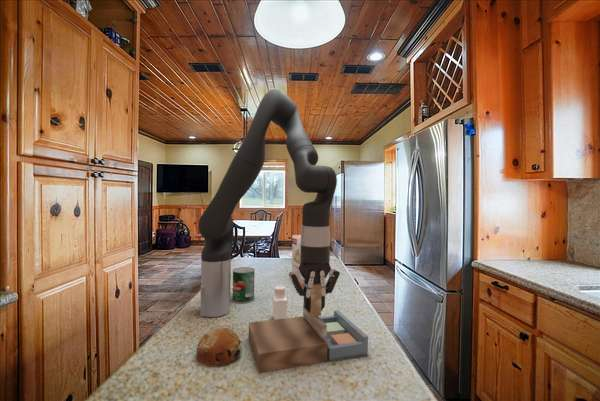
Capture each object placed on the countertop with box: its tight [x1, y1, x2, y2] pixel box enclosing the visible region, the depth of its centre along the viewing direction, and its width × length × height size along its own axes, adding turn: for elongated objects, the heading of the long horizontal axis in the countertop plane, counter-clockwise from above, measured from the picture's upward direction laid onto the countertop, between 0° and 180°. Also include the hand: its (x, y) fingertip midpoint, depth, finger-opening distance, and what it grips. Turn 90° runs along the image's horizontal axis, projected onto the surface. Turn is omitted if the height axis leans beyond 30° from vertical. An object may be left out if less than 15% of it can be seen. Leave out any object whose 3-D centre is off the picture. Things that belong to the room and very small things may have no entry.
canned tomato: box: [231, 266, 256, 304], centre depth 105 cm, size 8×8×11 cm
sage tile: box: [325, 322, 345, 338], centre depth 80 cm, size 5×5×2 cm
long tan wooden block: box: [302, 283, 327, 339], centre depth 74 cm, size 3×14×11 cm, turn 18°
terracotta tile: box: [331, 333, 357, 345], centre depth 73 cm, size 5×5×2 cm
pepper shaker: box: [272, 285, 288, 320], centre depth 90 cm, size 4×4×10 cm
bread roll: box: [196, 326, 242, 367], centre depth 69 cm, size 10×10×8 cm
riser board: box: [248, 315, 328, 373], centre depth 72 cm, size 16×16×4 cm
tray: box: [319, 309, 369, 362], centre depth 76 cm, size 10×17×4 cm, turn 18°
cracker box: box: [291, 234, 304, 289], centre depth 124 cm, size 14×6×21 cm, turn 25°
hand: (314, 309), depth 74 cm, fingers closed on long tan wooden block, 2 cm apart
